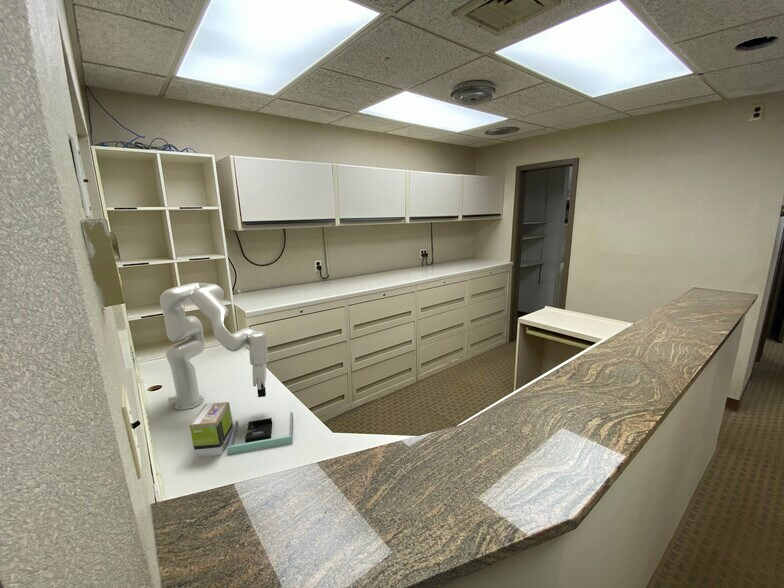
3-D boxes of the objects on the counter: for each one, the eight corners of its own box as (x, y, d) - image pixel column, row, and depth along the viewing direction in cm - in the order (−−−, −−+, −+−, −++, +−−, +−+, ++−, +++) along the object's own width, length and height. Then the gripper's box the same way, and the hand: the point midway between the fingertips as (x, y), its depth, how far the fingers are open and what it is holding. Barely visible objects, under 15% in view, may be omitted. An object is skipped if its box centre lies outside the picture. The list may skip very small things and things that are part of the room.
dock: (228, 454, 137) (227, 447, 136) (236, 426, 154) (235, 420, 154) (292, 443, 143) (291, 436, 142) (293, 417, 160) (292, 411, 159)
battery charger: (270, 443, 143) (269, 435, 142) (245, 448, 141) (244, 439, 140) (272, 425, 155) (271, 417, 154) (249, 429, 153) (248, 421, 152)
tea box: (210, 434, 150) (205, 402, 147) (235, 432, 151) (230, 400, 147) (194, 458, 136) (188, 424, 132) (221, 455, 136) (216, 421, 133)
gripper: (252, 352, 163) (255, 388, 167) (247, 367, 149) (251, 405, 153) (269, 351, 165) (271, 387, 169) (266, 365, 151) (269, 403, 155)
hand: (262, 395), depth 161 cm, fingers closed
